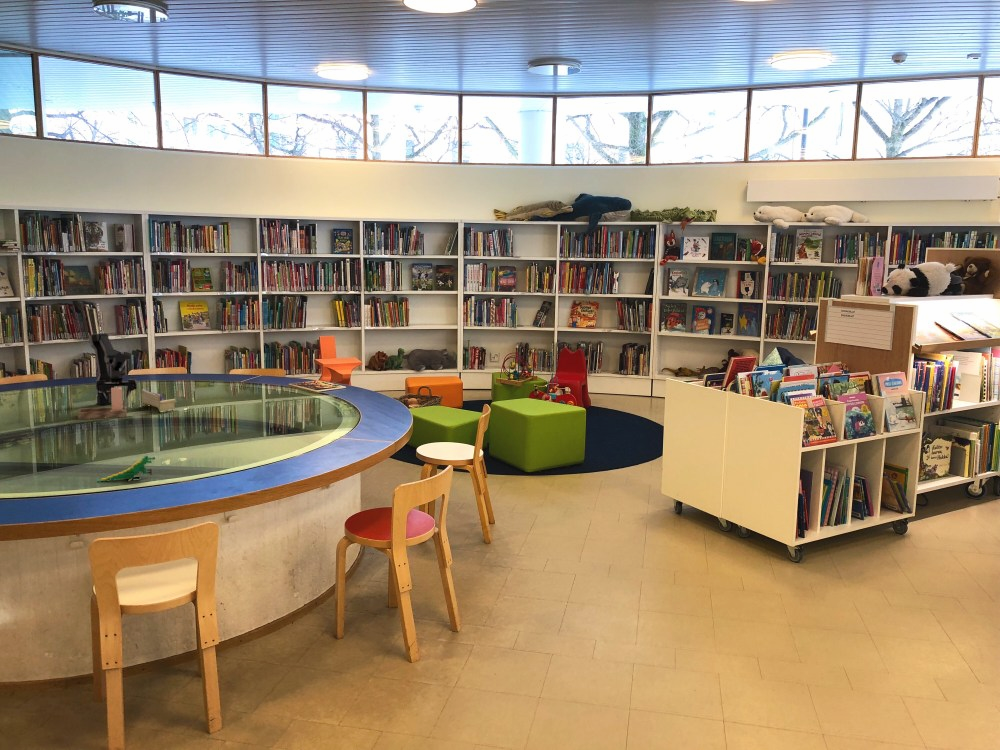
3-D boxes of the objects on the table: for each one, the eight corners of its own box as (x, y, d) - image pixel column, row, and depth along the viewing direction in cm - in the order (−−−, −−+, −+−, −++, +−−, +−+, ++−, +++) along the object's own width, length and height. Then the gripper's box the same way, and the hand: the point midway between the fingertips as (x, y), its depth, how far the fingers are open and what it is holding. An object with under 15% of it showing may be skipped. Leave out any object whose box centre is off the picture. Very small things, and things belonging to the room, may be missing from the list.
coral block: (111, 412, 407) (111, 389, 405) (112, 410, 411) (111, 387, 409) (122, 411, 409) (121, 388, 407) (122, 410, 413) (122, 387, 411)
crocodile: (97, 484, 298) (96, 461, 296) (98, 479, 303) (97, 457, 302) (155, 479, 306) (154, 457, 304) (155, 475, 311) (154, 453, 310)
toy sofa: (176, 411, 426) (175, 392, 425) (160, 413, 420) (159, 394, 418) (156, 405, 439) (156, 387, 438) (141, 407, 433) (140, 388, 431)
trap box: (78, 419, 398) (77, 412, 398) (79, 415, 407) (79, 408, 407) (126, 417, 407) (126, 410, 407) (126, 413, 416) (126, 406, 416)
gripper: (95, 364, 406) (95, 389, 398) (135, 364, 414) (136, 388, 406) (96, 377, 414) (96, 402, 406) (136, 376, 422) (137, 400, 414)
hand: (116, 398), depth 408 cm, fingers open, 9 cm apart
